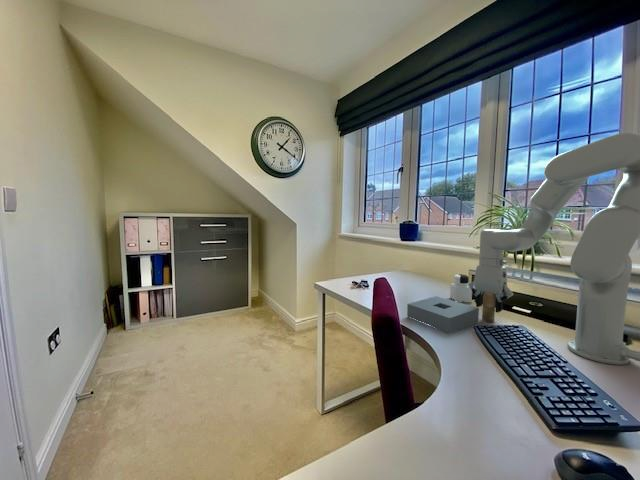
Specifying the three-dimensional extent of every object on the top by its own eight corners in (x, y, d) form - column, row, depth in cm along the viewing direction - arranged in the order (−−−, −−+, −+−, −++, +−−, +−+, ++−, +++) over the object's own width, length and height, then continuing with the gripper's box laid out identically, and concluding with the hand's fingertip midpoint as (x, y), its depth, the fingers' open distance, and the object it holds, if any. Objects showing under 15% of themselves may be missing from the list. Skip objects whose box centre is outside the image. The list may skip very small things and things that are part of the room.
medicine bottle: (465, 297, 133) (466, 273, 132) (471, 302, 126) (472, 276, 125) (449, 297, 134) (450, 273, 133) (455, 302, 127) (456, 276, 125)
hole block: (478, 322, 103) (478, 308, 103) (449, 333, 94) (449, 318, 93) (435, 308, 118) (436, 296, 118) (407, 317, 109) (407, 303, 108)
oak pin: (496, 321, 104) (497, 290, 103) (490, 323, 102) (492, 291, 101) (485, 317, 108) (486, 287, 107) (479, 319, 106) (481, 289, 104)
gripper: (522, 264, 98) (519, 313, 99) (473, 258, 112) (471, 301, 114) (511, 267, 94) (509, 318, 95) (462, 260, 108) (460, 304, 110)
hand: (488, 308), depth 105 cm, fingers open, 6 cm apart
